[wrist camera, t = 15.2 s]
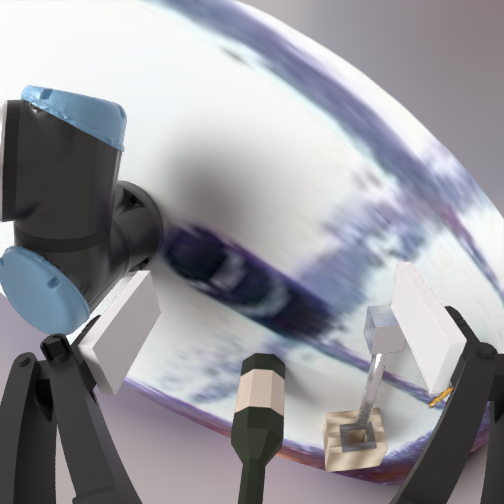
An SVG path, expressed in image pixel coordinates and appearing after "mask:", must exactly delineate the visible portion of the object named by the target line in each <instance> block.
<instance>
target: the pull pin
mask: <svg viewBox="0 0 504 504" xmlns="http://www.w3.org/2000/svg"><path fill="white" fill-rule="evenodd" d="M364 335H365V338H366V341H367V344H368V347H369V351H370V354H373V355H372V360H371V364H370V369H369V373H368V378H367V382H366V386H365V390H364V394H363V398H362V402H361V406H360V410H359V413H358V417H357V421H356V422H357V424H358V425H360V426H365V425H367V424H368V422H369V419H370V416H371V413H372V409H373V406H374V403H375V400H376V396H377V393H378V389H379V386H380V382H381V379H382V375H383V371H384V368H385V364H386V360H387V356H388V353H391V352H399V351H403V347H404V344H405V340H406V338H405V336H404V334H403V332H402V329H401V327H400V325H399V323H398V321H397V319H396V317H395V315H394V313H393V311H392V309H391V305H382V306H368V309H367V316H366V323H365V330H364Z"/></svg>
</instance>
